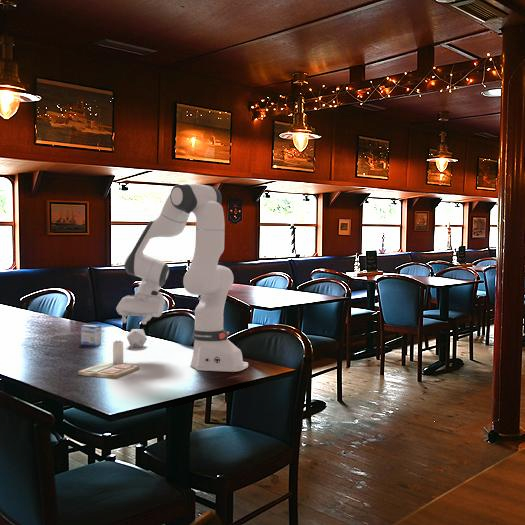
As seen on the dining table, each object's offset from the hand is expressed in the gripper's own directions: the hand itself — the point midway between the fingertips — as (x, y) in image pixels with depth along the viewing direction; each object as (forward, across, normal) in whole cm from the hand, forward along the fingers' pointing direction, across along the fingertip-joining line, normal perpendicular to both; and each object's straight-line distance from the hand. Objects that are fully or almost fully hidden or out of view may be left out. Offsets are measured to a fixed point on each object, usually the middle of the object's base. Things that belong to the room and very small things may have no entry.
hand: (133, 322), depth 258 cm
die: (-5, -11, +26) cm, 28 cm away
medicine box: (-3, -33, +24) cm, 41 cm away
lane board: (+28, +5, -8) cm, 30 cm away
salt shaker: (+18, 0, +2) cm, 19 cm away
